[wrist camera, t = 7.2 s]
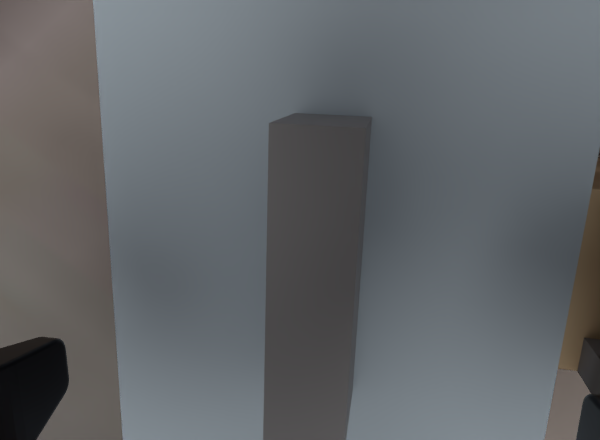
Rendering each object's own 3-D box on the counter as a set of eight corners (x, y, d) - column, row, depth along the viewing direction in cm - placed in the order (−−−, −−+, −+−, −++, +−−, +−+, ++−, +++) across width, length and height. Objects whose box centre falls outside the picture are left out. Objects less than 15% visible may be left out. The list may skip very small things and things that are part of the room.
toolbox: (653, -11, 17) (922, -100, 8) (568, 416, 21) (686, 647, 13) (182, -16, 19) (14, -88, 11) (191, 367, 24) (77, 533, 15)
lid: (600, -37, 13) (720, -103, 9) (511, 476, 18) (556, 630, 13) (130, -38, 16) (6, -92, 11) (153, 423, 20) (72, 539, 15)
